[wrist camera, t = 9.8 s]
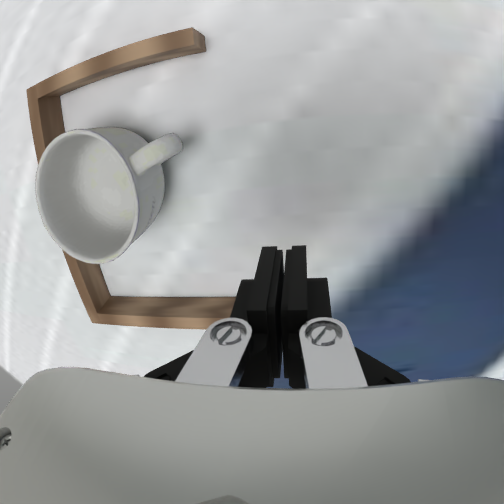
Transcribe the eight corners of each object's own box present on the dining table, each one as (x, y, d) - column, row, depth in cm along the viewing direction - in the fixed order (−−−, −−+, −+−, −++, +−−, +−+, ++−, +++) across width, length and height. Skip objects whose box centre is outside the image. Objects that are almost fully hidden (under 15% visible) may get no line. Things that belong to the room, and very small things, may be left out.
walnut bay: (204, 36, 21) (192, 27, 18) (241, 308, 33) (236, 329, 30) (48, 87, 23) (26, 89, 20) (105, 305, 35) (92, 322, 32)
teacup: (103, 235, 31) (61, 273, 24) (69, 142, 26) (16, 160, 19) (222, 205, 28) (199, 244, 21) (189, 91, 23) (150, 88, 16)
